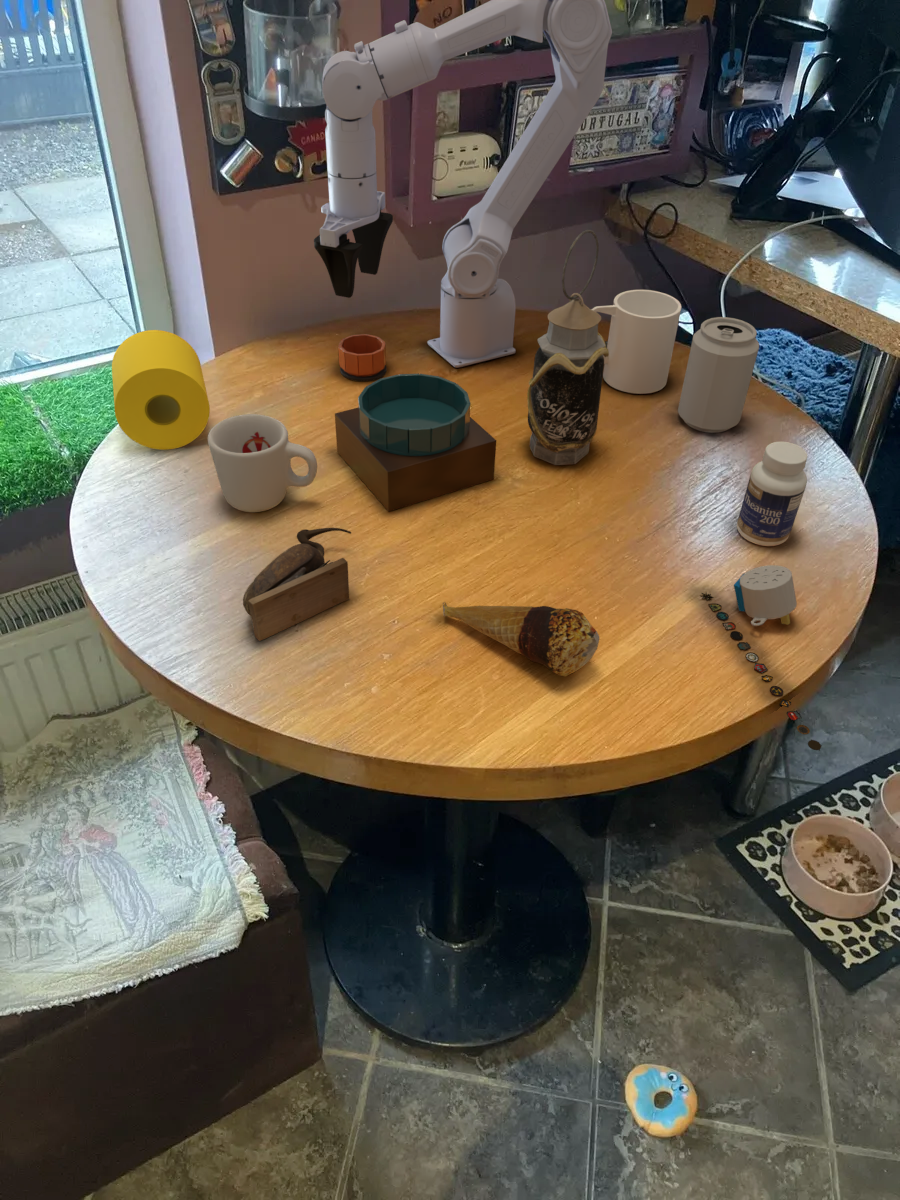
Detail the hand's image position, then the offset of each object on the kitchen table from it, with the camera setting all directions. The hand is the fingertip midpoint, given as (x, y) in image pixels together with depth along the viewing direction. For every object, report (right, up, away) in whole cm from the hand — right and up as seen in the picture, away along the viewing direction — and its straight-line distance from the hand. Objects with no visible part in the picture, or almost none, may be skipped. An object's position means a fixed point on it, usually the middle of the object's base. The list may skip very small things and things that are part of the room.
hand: (356, 283), depth 119 cm
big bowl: (+8, -21, -17) cm, 28 cm away
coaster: (+1, -10, +3) cm, 11 cm away
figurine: (0, -40, -34) cm, 52 cm away
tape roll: (-20, -19, -16) cm, 32 cm away
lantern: (+24, -23, -10) cm, 35 cm away
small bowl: (+1, -10, +2) cm, 10 cm away
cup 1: (-7, -30, -19) cm, 36 cm away
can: (+43, -18, -5) cm, 47 cm away
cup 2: (+34, -12, +2) cm, 36 cm away
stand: (+8, -25, -14) cm, 30 cm away
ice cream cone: (+11, -41, -33) cm, 54 cm away
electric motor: (+39, -40, -30) cm, 64 cm away
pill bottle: (+44, -33, -21) cm, 59 cm away
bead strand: (+40, -46, -36) cm, 70 cm away
